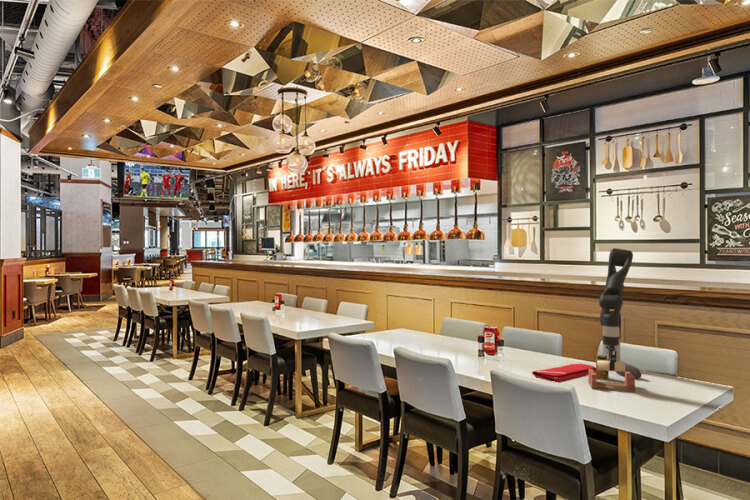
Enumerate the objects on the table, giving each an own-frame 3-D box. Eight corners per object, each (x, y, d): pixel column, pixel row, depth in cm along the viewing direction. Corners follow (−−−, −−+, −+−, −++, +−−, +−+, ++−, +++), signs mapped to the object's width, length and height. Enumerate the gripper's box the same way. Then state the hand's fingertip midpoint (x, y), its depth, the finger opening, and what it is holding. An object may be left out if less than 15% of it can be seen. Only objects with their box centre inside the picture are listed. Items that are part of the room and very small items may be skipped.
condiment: (608, 381, 250) (608, 358, 250) (591, 378, 254) (591, 356, 254) (609, 377, 256) (609, 355, 256) (592, 375, 260) (592, 353, 260)
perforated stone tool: (644, 380, 252) (644, 366, 252) (637, 381, 250) (637, 367, 250) (620, 373, 266) (620, 360, 266) (613, 374, 264) (613, 361, 264)
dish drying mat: (601, 372, 269) (601, 366, 269) (556, 383, 246) (556, 376, 246) (575, 366, 282) (575, 360, 282) (531, 377, 260) (531, 370, 260)
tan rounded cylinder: (623, 370, 239) (623, 360, 239) (625, 373, 234) (625, 363, 234) (596, 368, 242) (596, 359, 242) (598, 371, 238) (598, 361, 238)
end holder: (588, 382, 247) (588, 369, 247) (629, 385, 241) (629, 371, 241) (592, 389, 235) (592, 374, 235) (635, 392, 230) (634, 377, 230)
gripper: (622, 337, 230) (622, 373, 230) (616, 332, 244) (616, 366, 244) (605, 337, 233) (605, 372, 232) (600, 332, 246) (600, 365, 246)
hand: (610, 368), depth 238 cm, fingers closed on tan rounded cylinder, 5 cm apart
